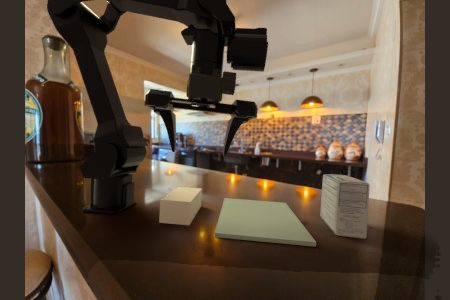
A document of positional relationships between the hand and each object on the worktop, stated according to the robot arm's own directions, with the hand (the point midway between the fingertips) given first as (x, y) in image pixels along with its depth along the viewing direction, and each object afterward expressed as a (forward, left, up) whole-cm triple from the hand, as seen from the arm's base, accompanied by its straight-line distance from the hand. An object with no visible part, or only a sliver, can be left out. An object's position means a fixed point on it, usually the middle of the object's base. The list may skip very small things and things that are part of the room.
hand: (199, 154), depth 34 cm
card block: (-3, 0, -12) cm, 12 cm away
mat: (+11, +1, -11) cm, 16 cm away
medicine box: (+25, 0, -12) cm, 28 cm away
